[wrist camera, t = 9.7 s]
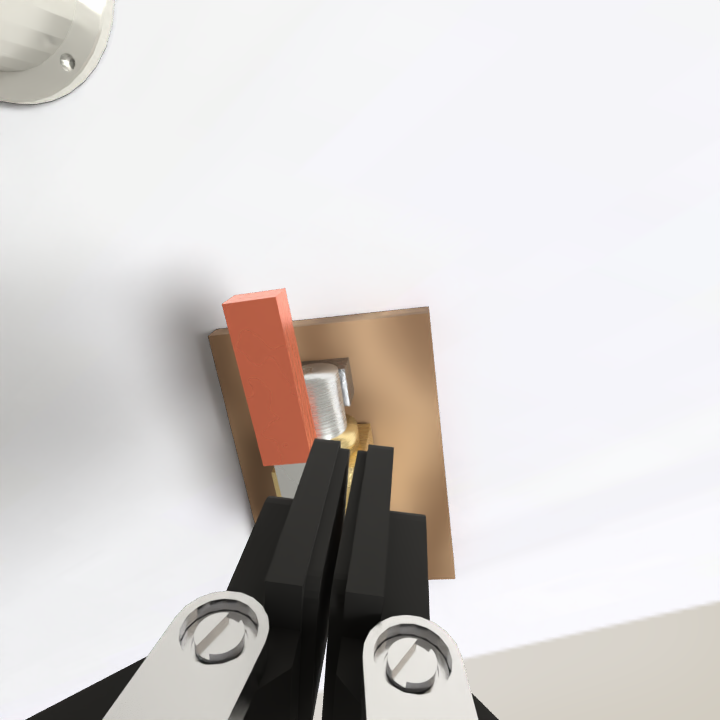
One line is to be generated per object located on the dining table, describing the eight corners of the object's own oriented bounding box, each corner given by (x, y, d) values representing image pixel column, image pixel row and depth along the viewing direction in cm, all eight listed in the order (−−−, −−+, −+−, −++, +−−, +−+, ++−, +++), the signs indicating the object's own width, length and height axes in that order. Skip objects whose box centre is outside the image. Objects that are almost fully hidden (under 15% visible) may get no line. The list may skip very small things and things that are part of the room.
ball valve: (321, 560, 39) (298, 653, 31) (280, 359, 33) (240, 414, 26) (391, 558, 38) (383, 652, 31) (360, 351, 32) (342, 406, 25)
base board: (275, 569, 41) (269, 583, 40) (216, 329, 35) (208, 336, 33) (454, 564, 39) (455, 578, 38) (428, 306, 32) (429, 313, 31)
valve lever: (347, 563, 28) (341, 596, 26) (297, 566, 29) (287, 598, 27) (289, 287, 23) (276, 300, 21) (230, 295, 24) (211, 309, 22)
